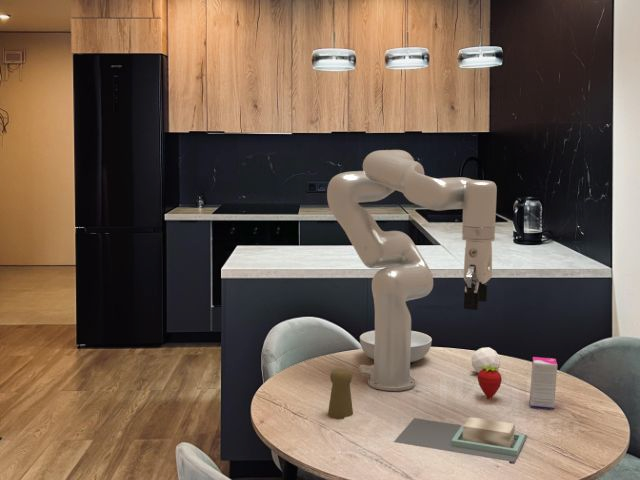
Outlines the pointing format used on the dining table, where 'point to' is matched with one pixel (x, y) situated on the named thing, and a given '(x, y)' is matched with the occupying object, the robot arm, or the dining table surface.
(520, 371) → the dining table surface
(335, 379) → the cork
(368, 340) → the serving bowl
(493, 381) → the strawberry
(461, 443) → the teal frame
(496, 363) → the geometric ball
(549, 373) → the supplement box
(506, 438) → the beige block
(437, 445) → the charcoal mat
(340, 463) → the dining table surface
